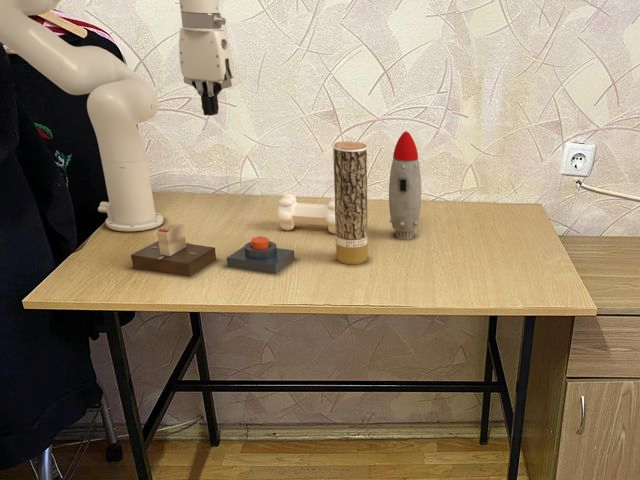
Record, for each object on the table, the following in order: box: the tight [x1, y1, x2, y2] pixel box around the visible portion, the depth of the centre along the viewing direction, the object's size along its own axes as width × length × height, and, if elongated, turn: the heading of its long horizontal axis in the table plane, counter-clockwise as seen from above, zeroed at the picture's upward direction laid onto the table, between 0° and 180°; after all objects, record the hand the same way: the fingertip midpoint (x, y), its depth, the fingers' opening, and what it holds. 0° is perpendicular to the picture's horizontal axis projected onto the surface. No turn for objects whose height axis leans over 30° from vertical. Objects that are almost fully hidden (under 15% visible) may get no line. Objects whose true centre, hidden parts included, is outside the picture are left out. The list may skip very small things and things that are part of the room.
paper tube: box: [332, 141, 368, 266], centre depth 152 cm, size 7×7×25 cm
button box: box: [226, 240, 296, 275], centre depth 152 cm, size 11×9×4 cm
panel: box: [130, 240, 217, 278], centre depth 149 cm, size 13×10×3 cm
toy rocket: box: [388, 130, 422, 240], centre depth 168 cm, size 8×8×25 cm
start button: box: [250, 236, 270, 249], centre depth 151 cm, size 4×4×2 cm
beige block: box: [156, 222, 187, 256], centre depth 147 cm, size 6×2×5 cm, turn 167°
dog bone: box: [276, 193, 336, 235], centre depth 172 cm, size 15×9×8 cm, turn 87°
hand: (211, 114), depth 156 cm, fingers closed
